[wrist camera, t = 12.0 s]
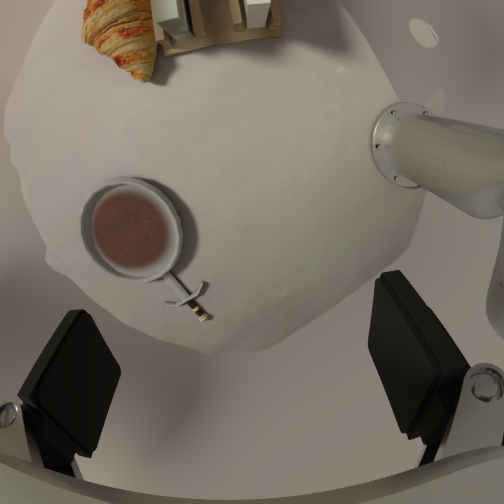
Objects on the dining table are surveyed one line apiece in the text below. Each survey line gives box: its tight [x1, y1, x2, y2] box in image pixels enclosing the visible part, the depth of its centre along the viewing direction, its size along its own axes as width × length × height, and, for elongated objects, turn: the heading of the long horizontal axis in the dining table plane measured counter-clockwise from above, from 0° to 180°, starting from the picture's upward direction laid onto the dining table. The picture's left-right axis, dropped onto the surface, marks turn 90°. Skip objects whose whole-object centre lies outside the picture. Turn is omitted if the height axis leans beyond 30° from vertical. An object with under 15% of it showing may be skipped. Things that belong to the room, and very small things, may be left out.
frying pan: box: [79, 177, 208, 322], centre depth 43 cm, size 17×3×28 cm
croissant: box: [82, 0, 158, 83], centre depth 26 cm, size 21×10×8 cm, turn 24°
